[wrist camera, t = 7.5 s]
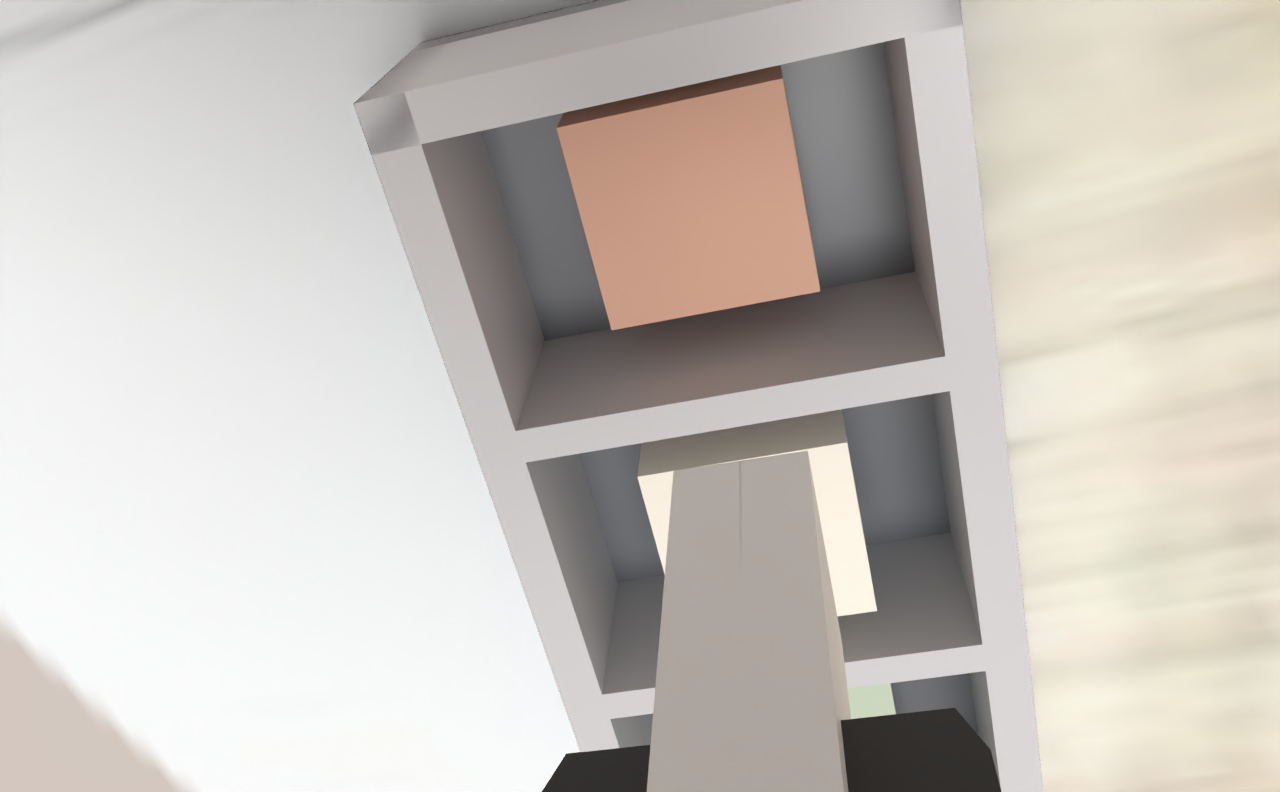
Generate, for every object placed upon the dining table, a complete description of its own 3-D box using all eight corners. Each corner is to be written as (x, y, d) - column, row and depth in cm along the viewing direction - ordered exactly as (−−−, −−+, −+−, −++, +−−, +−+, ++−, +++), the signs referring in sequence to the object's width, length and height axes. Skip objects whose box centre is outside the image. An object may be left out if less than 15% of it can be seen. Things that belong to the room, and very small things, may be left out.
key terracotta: (569, 99, 25) (556, 127, 23) (778, 53, 25) (782, 78, 23) (619, 290, 27) (611, 330, 26) (814, 253, 27) (820, 291, 25)
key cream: (643, 426, 27) (637, 476, 26) (838, 392, 27) (847, 442, 25) (685, 580, 30) (682, 637, 28) (867, 553, 29) (877, 611, 27)
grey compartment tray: (421, 41, 26) (353, 103, 22) (913, -75, 24) (956, -35, 20) (651, 771, 37) (639, 920, 32) (1009, 729, 35) (1052, 880, 30)
